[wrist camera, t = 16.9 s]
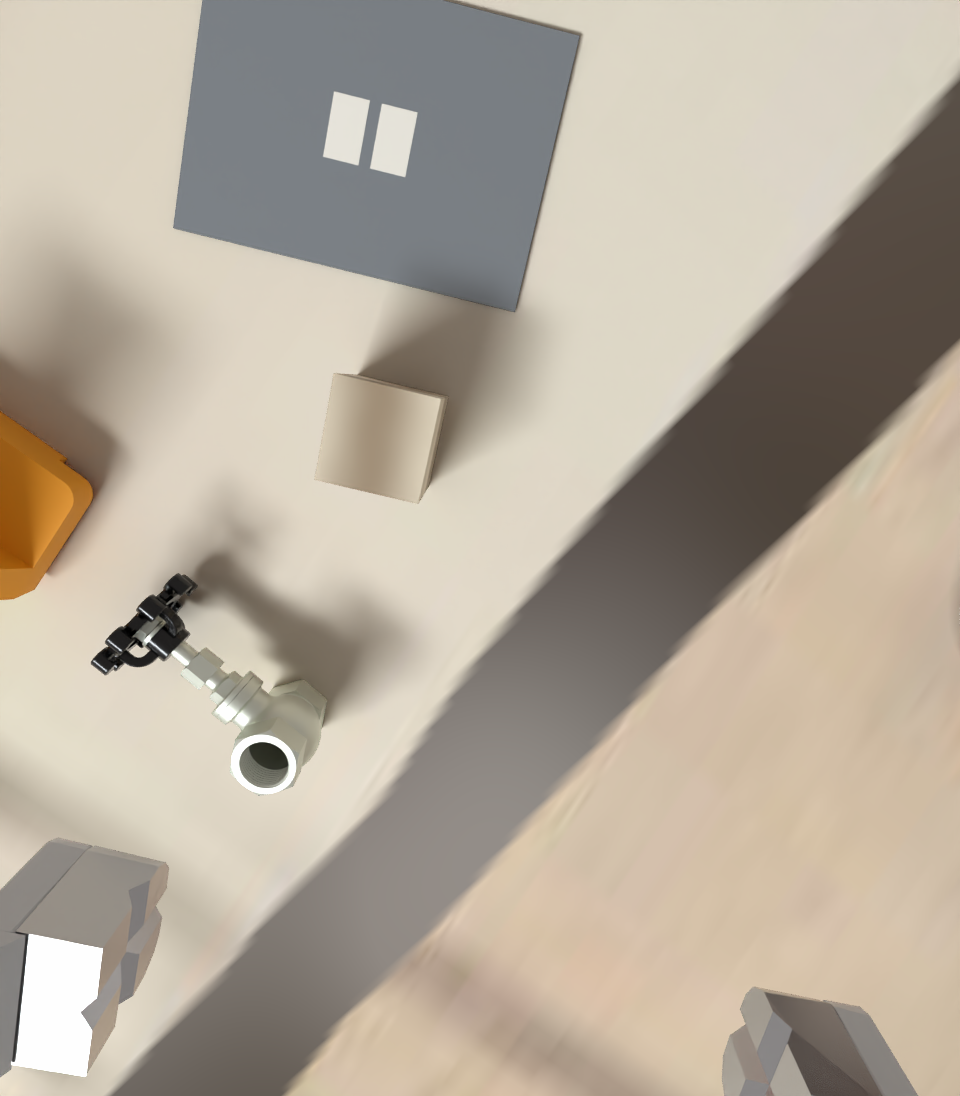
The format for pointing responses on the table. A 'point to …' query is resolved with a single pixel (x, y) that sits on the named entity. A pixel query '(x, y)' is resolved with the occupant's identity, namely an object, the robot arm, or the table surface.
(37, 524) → the bracket
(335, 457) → the maple block
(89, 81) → the table surface
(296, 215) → the grey mat
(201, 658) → the valve
